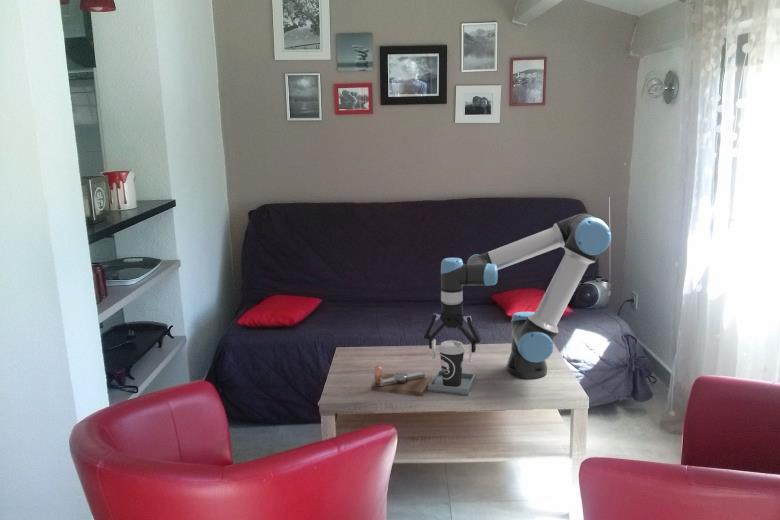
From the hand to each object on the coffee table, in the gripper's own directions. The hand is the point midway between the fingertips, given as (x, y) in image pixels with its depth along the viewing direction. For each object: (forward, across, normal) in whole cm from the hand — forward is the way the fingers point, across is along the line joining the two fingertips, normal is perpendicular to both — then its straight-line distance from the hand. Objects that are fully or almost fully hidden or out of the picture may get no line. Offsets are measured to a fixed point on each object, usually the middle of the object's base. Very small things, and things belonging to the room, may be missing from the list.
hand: (452, 359), depth 227 cm
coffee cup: (+10, 0, 0) cm, 10 cm away
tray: (+10, 0, 0) cm, 10 cm away
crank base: (+10, +18, +5) cm, 21 cm away
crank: (+9, +18, +4) cm, 20 cm away
